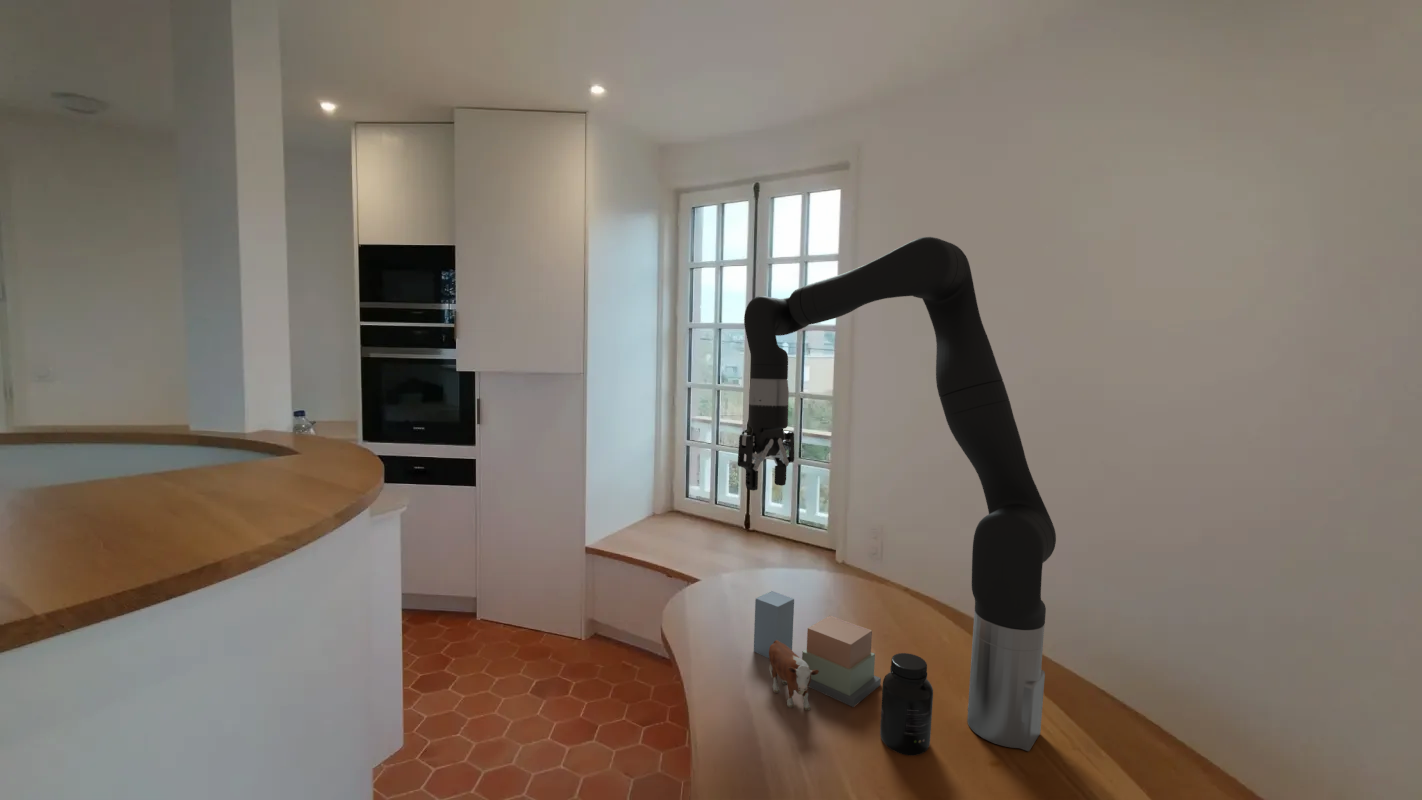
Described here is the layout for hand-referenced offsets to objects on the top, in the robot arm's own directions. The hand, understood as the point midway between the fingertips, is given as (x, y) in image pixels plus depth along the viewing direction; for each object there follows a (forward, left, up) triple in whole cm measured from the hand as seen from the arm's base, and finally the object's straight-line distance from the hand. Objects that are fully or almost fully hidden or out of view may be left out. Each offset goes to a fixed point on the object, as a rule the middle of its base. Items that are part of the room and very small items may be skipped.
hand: (766, 487), depth 118 cm
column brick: (-6, +5, -29) cm, 30 cm away
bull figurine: (-18, +15, -29) cm, 37 cm away
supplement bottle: (-35, +13, -29) cm, 47 cm away
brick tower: (-20, +6, -29) cm, 36 cm away
